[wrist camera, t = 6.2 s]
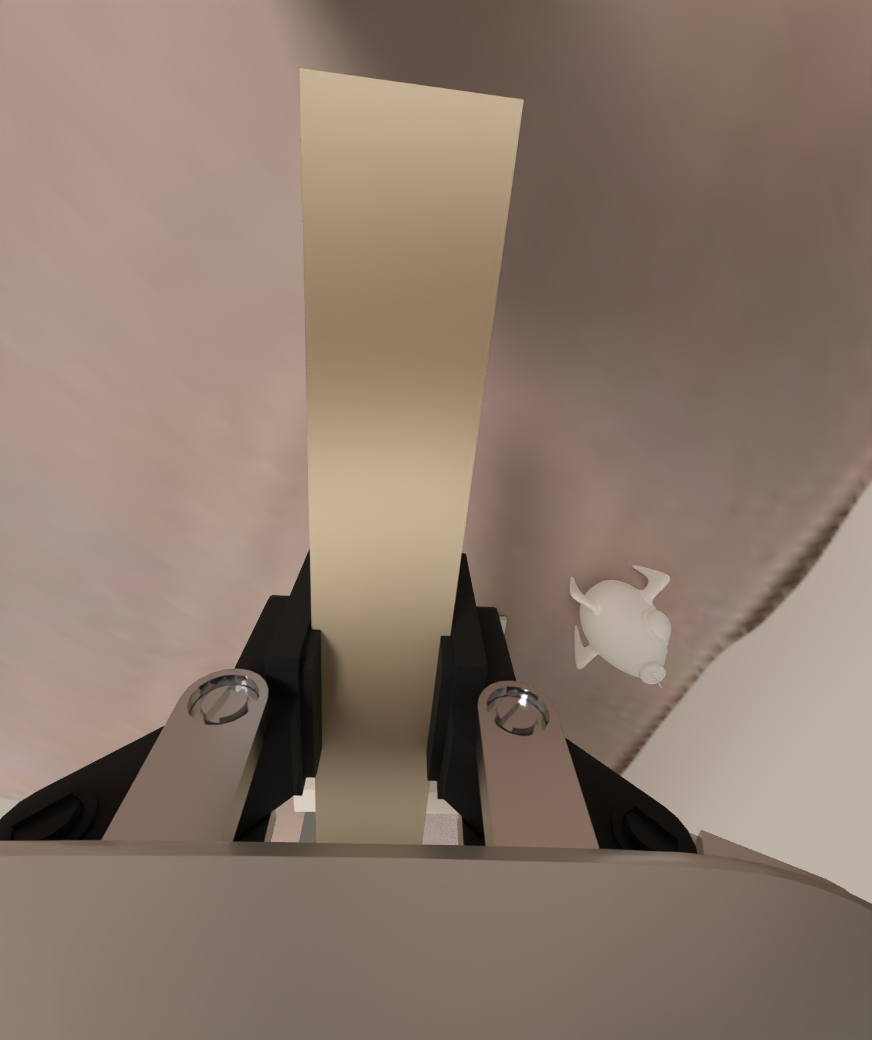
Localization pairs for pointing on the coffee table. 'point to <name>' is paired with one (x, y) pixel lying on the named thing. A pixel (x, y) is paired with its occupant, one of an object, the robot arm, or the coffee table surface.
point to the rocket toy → (624, 626)
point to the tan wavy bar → (392, 412)
